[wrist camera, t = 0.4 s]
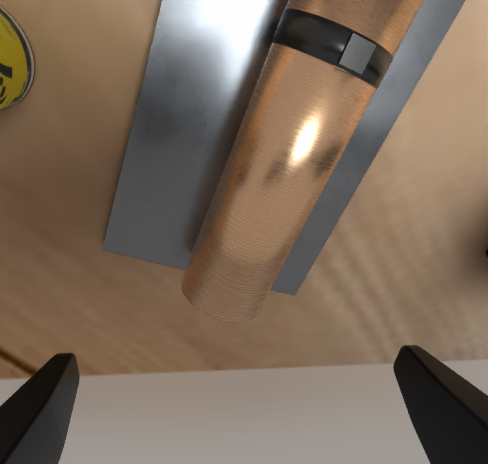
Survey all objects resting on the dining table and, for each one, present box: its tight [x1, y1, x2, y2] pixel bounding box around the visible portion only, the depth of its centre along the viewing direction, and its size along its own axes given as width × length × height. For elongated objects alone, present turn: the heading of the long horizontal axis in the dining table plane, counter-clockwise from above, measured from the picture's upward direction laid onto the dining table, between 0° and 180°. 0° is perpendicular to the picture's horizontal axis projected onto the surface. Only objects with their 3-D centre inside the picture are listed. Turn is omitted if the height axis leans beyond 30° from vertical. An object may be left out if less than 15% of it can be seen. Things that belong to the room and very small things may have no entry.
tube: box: [181, 0, 424, 323], centre depth 16 cm, size 17×5×5 cm, turn 158°
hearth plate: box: [102, 0, 465, 296], centre depth 16 cm, size 13×27×1 cm, turn 158°
